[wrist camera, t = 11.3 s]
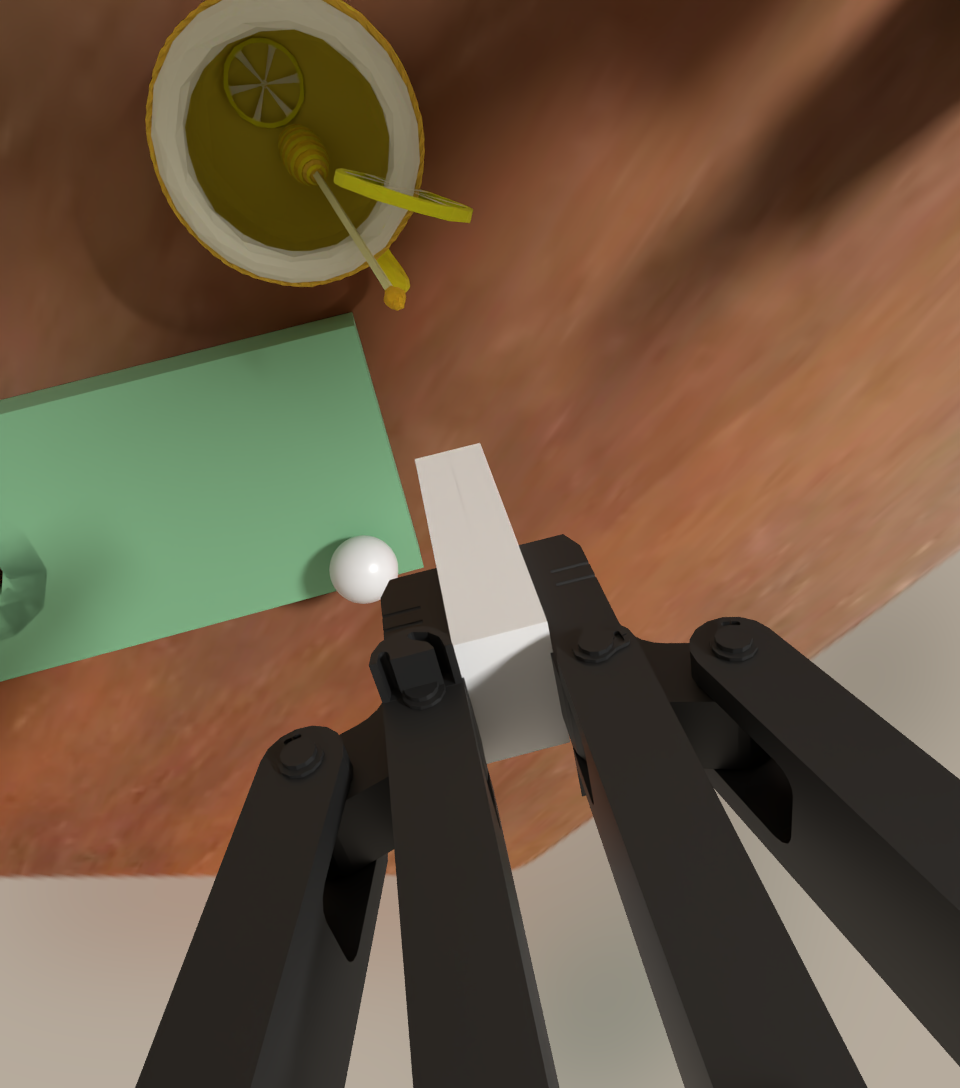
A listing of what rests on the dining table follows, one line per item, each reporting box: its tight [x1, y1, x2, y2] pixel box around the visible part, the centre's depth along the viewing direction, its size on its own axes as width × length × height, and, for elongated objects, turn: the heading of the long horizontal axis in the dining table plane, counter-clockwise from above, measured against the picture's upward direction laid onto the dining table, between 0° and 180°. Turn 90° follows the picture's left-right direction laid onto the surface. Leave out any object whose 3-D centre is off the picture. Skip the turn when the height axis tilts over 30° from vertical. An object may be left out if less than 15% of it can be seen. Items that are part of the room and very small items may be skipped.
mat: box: [0, 312, 424, 682], centre depth 40 cm, size 14×28×4 cm, turn 101°
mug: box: [145, 0, 473, 311], centre depth 30 cm, size 13×11×12 cm
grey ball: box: [329, 535, 398, 604], centre depth 41 cm, size 4×4×4 cm
